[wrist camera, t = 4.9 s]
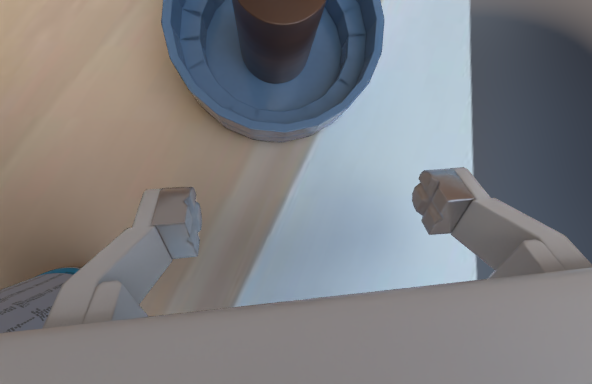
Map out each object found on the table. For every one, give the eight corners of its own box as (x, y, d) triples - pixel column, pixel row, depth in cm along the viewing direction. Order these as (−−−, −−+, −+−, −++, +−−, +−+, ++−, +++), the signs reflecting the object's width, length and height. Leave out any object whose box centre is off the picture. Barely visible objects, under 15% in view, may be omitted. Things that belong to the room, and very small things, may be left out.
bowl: (143, 57, 24) (112, 23, 19) (265, -74, 25) (265, -138, 20) (284, 179, 26) (288, 176, 21) (395, 50, 27) (425, 18, 22)
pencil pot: (226, 51, 25) (188, -87, 12) (271, 2, 25) (277, -181, 13) (278, 97, 25) (291, 9, 13) (321, 49, 25) (374, -84, 13)
